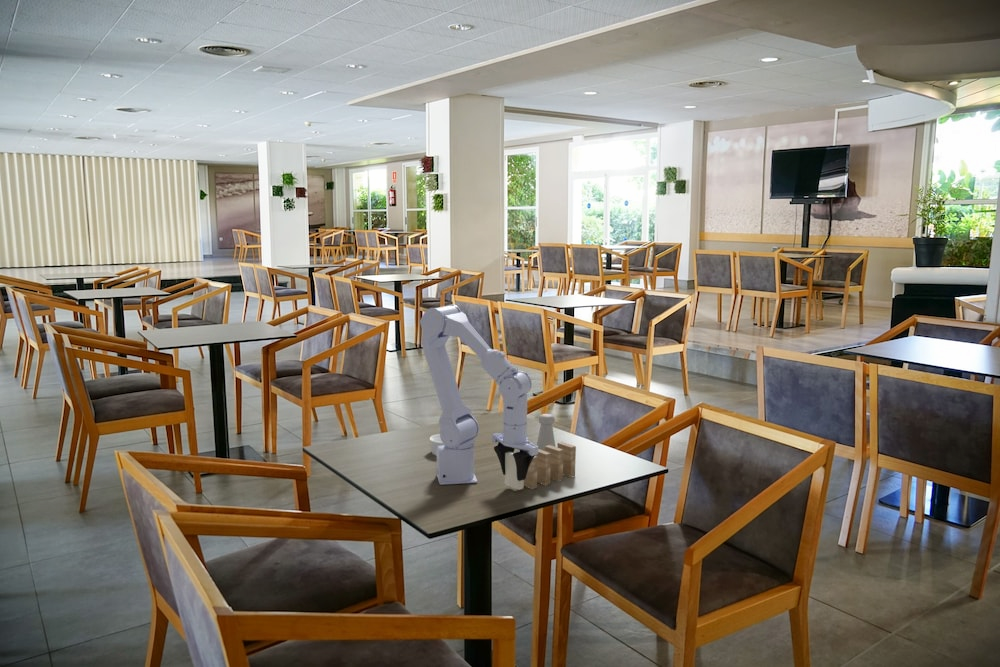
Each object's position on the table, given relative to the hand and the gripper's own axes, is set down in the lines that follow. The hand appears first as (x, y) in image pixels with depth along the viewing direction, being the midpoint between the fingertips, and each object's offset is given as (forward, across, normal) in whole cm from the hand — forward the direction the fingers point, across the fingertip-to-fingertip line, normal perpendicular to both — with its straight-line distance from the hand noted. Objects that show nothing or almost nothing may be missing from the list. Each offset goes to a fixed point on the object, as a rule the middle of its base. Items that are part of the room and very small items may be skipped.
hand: (514, 476), depth 187 cm
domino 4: (+3, 0, -18) cm, 18 cm away
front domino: (+2, 0, 0) cm, 2 cm away
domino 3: (+3, 0, -14) cm, 14 cm away
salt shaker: (+4, +11, -21) cm, 24 cm away
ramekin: (+4, +34, -5) cm, 35 cm away
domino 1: (+3, 0, -4) cm, 6 cm away
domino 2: (+3, 0, -9) cm, 10 cm away
